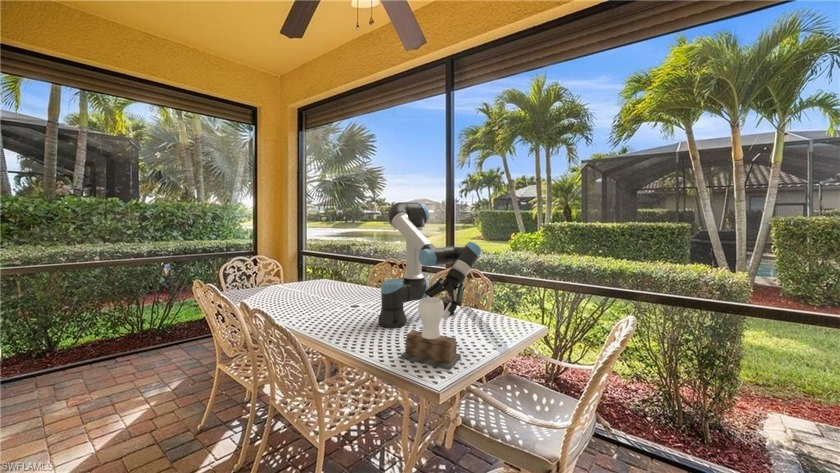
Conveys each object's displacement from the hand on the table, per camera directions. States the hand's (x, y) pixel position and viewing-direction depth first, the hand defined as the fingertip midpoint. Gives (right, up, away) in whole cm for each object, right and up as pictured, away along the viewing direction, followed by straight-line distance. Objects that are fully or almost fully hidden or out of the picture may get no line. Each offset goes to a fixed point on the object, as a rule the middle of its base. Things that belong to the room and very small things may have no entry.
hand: (432, 313), depth 143 cm
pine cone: (+7, -14, +61) cm, 63 cm away
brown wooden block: (-1, -19, +2) cm, 19 cm away
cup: (-1, -10, +2) cm, 10 cm away
